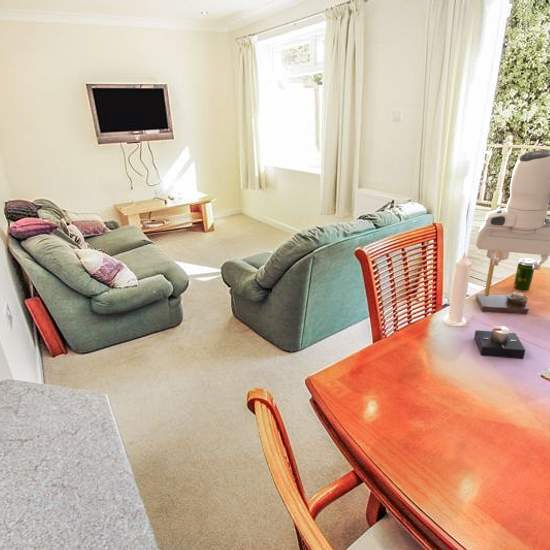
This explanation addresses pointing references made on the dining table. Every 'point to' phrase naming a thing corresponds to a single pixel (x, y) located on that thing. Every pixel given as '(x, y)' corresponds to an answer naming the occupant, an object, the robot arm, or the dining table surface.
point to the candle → (459, 293)
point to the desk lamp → (498, 254)
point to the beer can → (524, 275)
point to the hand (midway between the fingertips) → (514, 267)
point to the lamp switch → (517, 295)
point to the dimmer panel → (499, 345)
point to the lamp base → (502, 304)
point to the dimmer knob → (500, 334)
